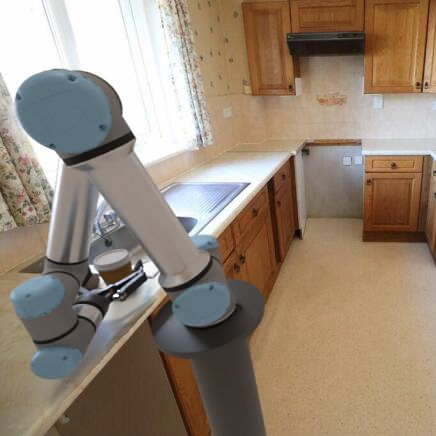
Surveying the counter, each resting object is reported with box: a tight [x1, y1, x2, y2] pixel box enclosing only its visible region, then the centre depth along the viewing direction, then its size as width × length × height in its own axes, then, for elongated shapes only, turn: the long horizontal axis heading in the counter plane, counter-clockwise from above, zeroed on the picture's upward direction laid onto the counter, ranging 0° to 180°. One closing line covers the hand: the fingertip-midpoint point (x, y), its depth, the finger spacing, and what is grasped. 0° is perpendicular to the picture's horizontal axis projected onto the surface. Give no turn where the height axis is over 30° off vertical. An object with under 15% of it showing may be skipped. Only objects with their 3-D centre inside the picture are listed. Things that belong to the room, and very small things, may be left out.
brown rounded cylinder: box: [84, 274, 101, 290], centre depth 100 cm, size 13×4×4 cm, turn 80°
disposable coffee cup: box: [92, 248, 133, 293], centre depth 95 cm, size 10×10×12 cm
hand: (115, 267), depth 94 cm, fingers open, 13 cm apart
